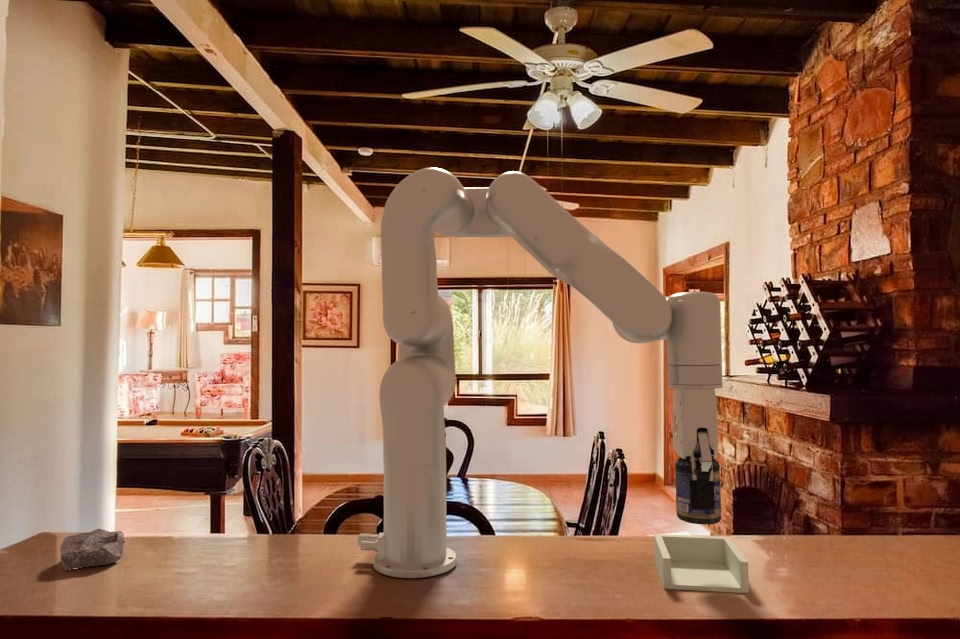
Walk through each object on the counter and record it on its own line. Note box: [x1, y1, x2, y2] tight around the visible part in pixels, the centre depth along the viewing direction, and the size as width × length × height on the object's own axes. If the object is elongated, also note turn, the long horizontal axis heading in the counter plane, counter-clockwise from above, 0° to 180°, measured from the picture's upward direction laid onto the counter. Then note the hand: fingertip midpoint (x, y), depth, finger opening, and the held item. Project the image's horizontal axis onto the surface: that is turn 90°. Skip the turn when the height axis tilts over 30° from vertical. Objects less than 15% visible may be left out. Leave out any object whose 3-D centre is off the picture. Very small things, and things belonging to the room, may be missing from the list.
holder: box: [653, 533, 750, 594], centre depth 91 cm, size 11×11×4 cm
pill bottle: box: [674, 449, 722, 526], centre depth 92 cm, size 6×6×11 cm
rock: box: [60, 528, 126, 571], centre depth 100 cm, size 8×11×5 cm
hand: (697, 501), depth 92 cm, fingers closed on pill bottle, 6 cm apart
